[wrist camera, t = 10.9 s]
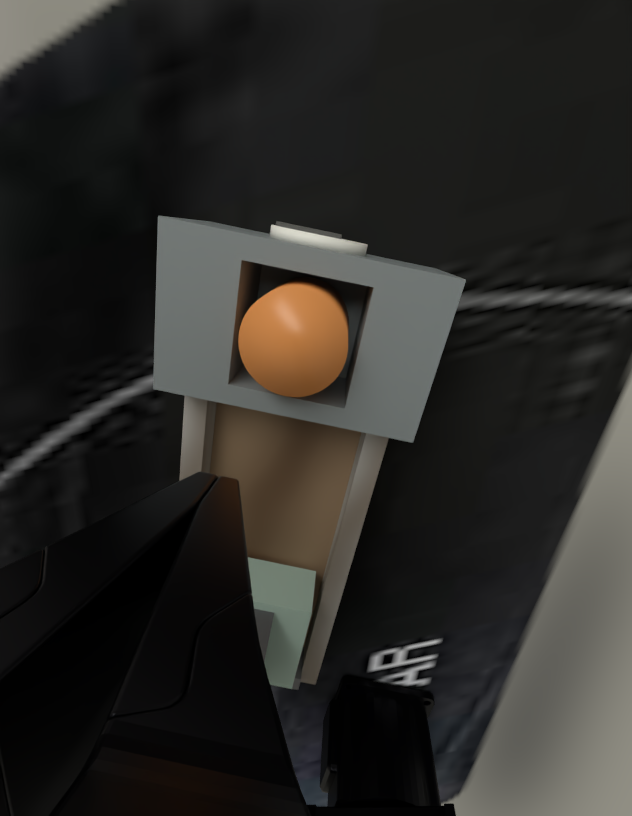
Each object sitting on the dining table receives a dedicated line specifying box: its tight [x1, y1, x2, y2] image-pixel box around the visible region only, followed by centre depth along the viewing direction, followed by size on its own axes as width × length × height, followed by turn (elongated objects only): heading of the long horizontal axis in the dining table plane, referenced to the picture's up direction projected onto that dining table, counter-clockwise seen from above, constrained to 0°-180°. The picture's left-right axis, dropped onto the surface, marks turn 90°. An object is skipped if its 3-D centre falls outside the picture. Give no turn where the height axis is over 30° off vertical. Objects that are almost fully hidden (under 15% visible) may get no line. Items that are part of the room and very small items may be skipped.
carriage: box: [248, 557, 316, 689], centre depth 20 cm, size 6×6×7 cm
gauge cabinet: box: [153, 216, 466, 443], centre depth 16 cm, size 10×7×5 cm, turn 79°
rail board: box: [179, 396, 389, 690], centre depth 22 cm, size 9×18×4 cm, turn 169°
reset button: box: [238, 277, 349, 397], centre depth 15 cm, size 4×4×4 cm
